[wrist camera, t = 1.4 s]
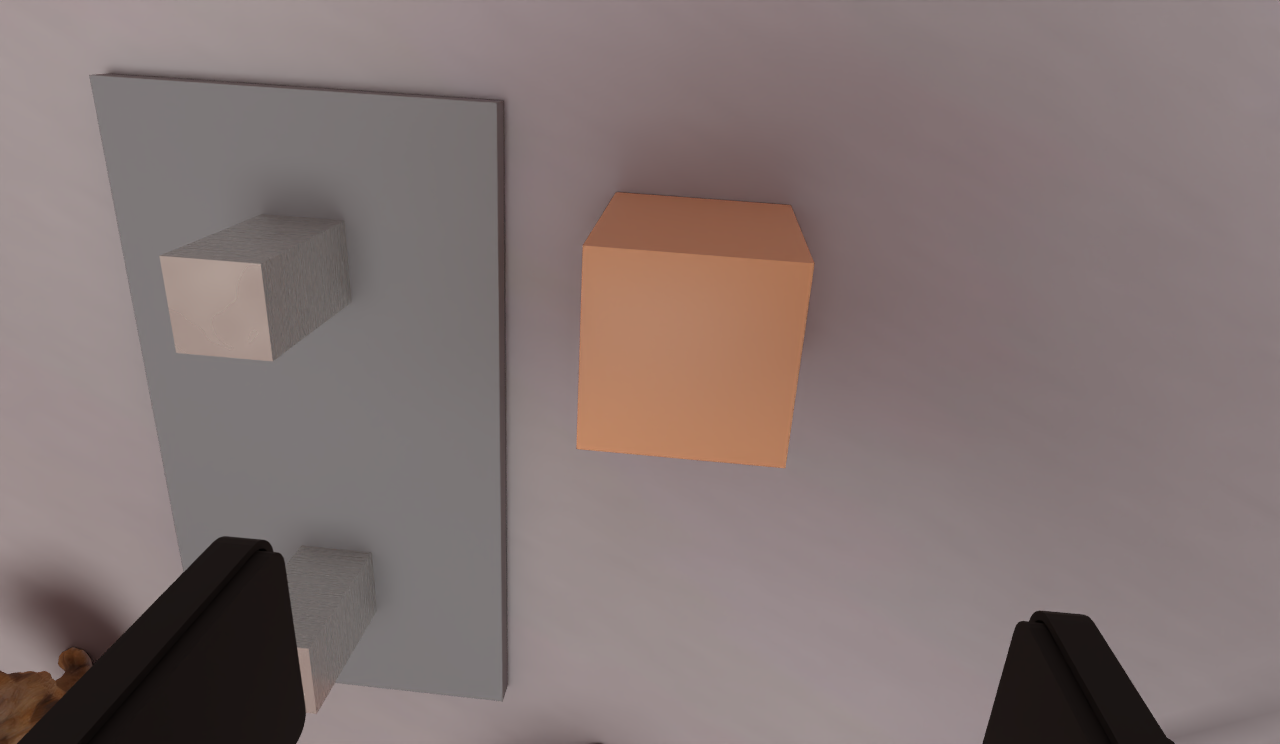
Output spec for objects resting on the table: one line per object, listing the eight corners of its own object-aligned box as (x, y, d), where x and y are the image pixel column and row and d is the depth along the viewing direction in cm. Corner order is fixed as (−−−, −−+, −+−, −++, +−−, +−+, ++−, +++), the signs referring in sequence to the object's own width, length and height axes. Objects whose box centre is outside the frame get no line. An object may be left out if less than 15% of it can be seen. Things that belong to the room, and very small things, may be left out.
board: (503, 100, 24) (496, 103, 23) (507, 686, 33) (502, 701, 32) (107, 73, 25) (89, 75, 24) (213, 653, 33) (201, 667, 33)
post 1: (344, 220, 25) (260, 264, 20) (351, 302, 26) (272, 361, 21) (261, 214, 25) (159, 256, 21) (271, 295, 26) (176, 352, 22)
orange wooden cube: (790, 205, 24) (814, 263, 18) (770, 367, 27) (785, 468, 20) (615, 192, 25) (582, 245, 19) (608, 353, 27) (576, 449, 21)
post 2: (371, 552, 30) (308, 648, 25) (377, 610, 31) (316, 713, 26) (301, 545, 30) (225, 639, 25) (308, 603, 31) (236, 704, 26)
